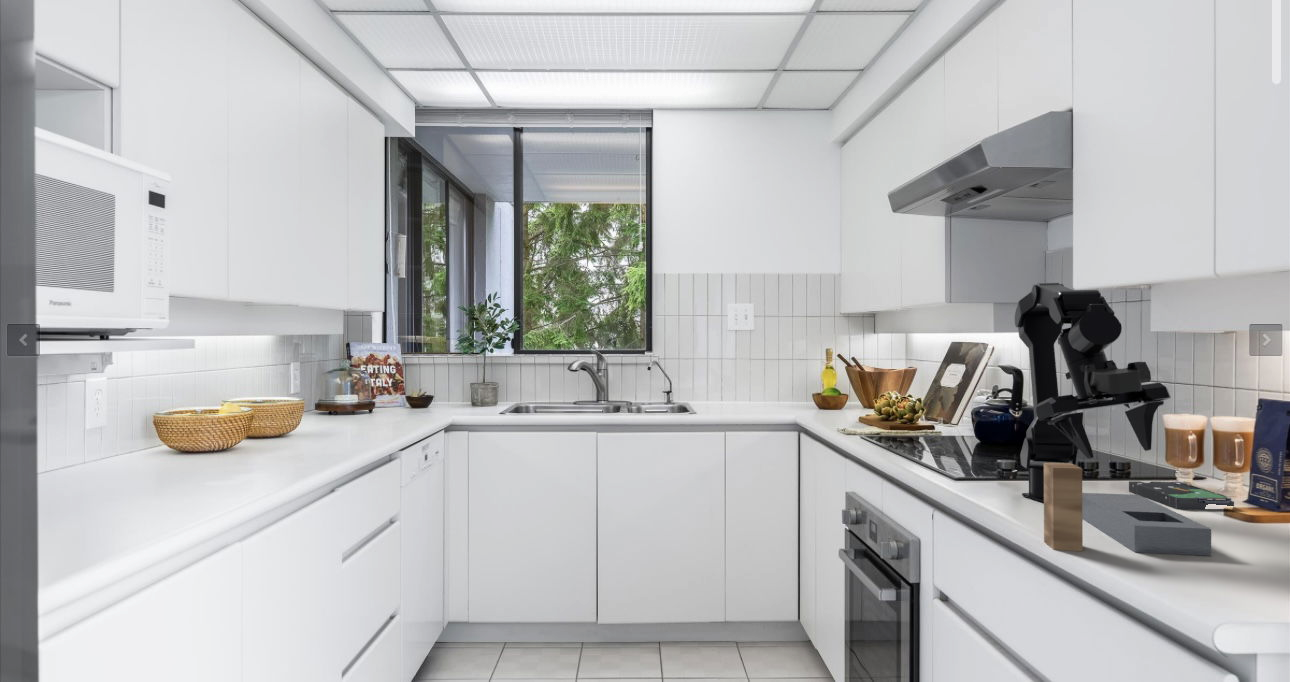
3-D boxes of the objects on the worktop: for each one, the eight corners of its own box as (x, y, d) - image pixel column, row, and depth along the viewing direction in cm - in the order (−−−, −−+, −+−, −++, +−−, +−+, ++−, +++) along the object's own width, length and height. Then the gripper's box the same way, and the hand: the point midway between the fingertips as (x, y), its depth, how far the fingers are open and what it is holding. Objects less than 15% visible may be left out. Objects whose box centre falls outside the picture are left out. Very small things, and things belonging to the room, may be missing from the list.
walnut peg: (1044, 541, 109) (1043, 462, 109) (1072, 543, 108) (1071, 463, 108) (1053, 549, 105) (1053, 467, 105) (1082, 551, 105) (1082, 468, 104)
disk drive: (1127, 494, 143) (1177, 512, 128) (1127, 481, 143) (1176, 496, 128) (1180, 495, 142) (1236, 512, 127) (1179, 481, 142) (1236, 497, 127)
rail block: (1075, 514, 125) (1075, 492, 125) (1138, 517, 123) (1138, 494, 123) (1134, 552, 104) (1134, 525, 104) (1211, 556, 102) (1211, 528, 102)
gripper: (1055, 354, 108) (1089, 453, 103) (1174, 337, 108) (1214, 436, 103) (1022, 374, 118) (1051, 465, 113) (1130, 359, 118) (1164, 449, 113)
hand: (1119, 454), depth 110 cm, fingers open, 9 cm apart
